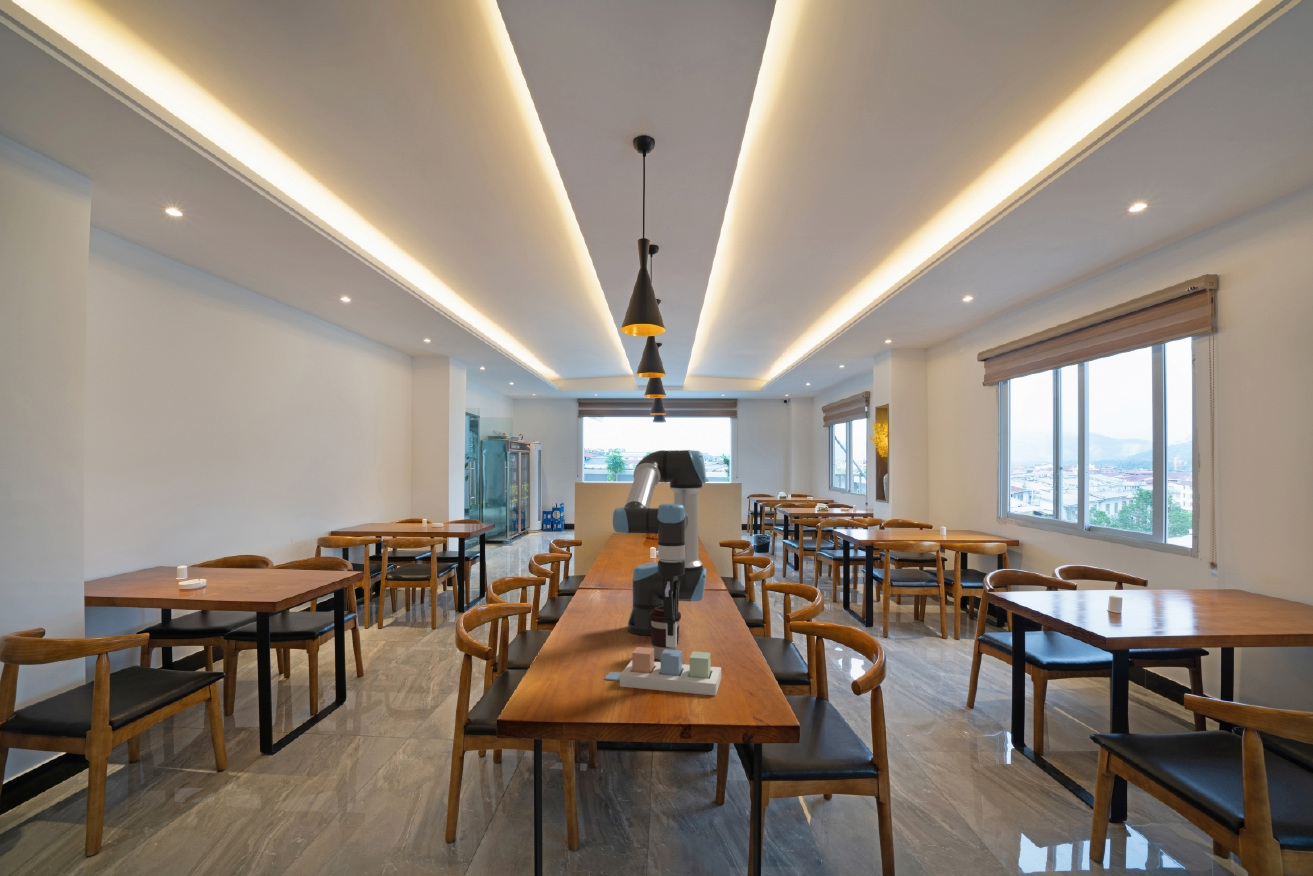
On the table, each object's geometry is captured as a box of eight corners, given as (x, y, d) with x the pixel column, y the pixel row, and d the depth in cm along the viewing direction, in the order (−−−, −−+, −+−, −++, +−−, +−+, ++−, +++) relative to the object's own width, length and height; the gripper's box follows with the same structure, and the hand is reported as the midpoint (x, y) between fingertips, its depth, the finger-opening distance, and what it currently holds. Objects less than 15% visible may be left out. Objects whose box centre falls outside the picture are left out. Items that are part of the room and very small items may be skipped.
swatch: (610, 673, 161) (610, 671, 161) (626, 674, 160) (626, 673, 160) (604, 679, 157) (604, 678, 157) (621, 681, 155) (621, 679, 155)
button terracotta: (637, 665, 160) (637, 647, 160) (654, 667, 159) (654, 648, 159) (632, 672, 155) (632, 652, 155) (649, 673, 154) (649, 654, 154)
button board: (631, 670, 164) (631, 659, 164) (721, 678, 158) (721, 667, 158) (619, 686, 152) (619, 675, 152) (715, 695, 146) (715, 684, 146)
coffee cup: (678, 664, 169) (678, 613, 169) (645, 661, 171) (646, 611, 171) (683, 653, 178) (683, 605, 179) (652, 650, 180) (652, 603, 181)
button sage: (692, 670, 156) (692, 651, 156) (710, 672, 155) (710, 652, 155) (689, 677, 151) (689, 657, 151) (708, 678, 150) (708, 659, 150)
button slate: (664, 668, 158) (664, 649, 158) (682, 669, 157) (682, 650, 157) (660, 674, 153) (660, 655, 153) (678, 676, 152) (678, 656, 152)
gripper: (663, 555, 163) (663, 638, 162) (652, 563, 151) (652, 653, 150) (688, 556, 162) (688, 640, 161) (680, 564, 149) (680, 655, 148)
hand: (671, 646), depth 155 cm, fingers closed
